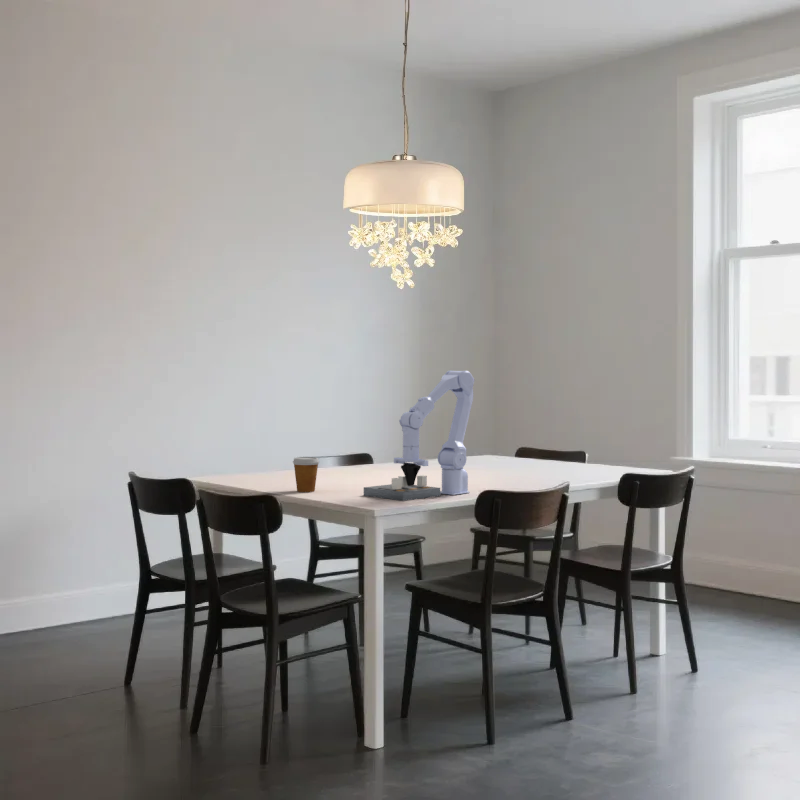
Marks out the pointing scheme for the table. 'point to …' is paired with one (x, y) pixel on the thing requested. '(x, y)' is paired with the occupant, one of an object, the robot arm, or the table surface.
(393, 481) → the block
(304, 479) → the disposable coffee cup
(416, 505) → the table surface
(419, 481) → the breaker
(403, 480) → the block
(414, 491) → the panel
